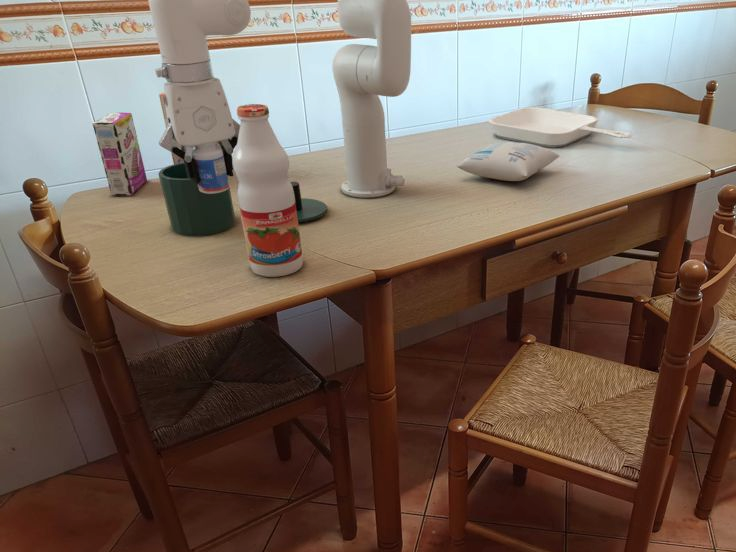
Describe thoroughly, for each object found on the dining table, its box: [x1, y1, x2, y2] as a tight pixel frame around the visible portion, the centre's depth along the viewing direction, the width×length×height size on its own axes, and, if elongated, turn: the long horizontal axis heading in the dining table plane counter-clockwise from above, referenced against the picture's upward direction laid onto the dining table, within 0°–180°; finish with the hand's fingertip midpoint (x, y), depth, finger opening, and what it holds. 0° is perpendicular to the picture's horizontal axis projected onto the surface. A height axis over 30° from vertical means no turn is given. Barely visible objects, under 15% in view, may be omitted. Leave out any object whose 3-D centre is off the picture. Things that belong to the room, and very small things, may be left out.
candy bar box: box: [92, 112, 148, 197], centre depth 152 cm, size 11×5×16 cm, turn 5°
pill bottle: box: [192, 142, 230, 194], centre depth 119 cm, size 6×5×10 cm
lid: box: [290, 181, 328, 223], centre depth 142 cm, size 14×14×7 cm
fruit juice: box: [232, 103, 304, 278], centre depth 113 cm, size 9×9×28 cm
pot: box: [158, 163, 236, 237], centre depth 135 cm, size 12×12×12 cm
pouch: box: [455, 141, 561, 182], centre depth 165 cm, size 8×19×20 cm
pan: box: [488, 106, 633, 148], centre depth 197 cm, size 27×42×5 cm, turn 54°
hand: (212, 177), depth 121 cm, fingers closed on pill bottle, 5 cm apart
